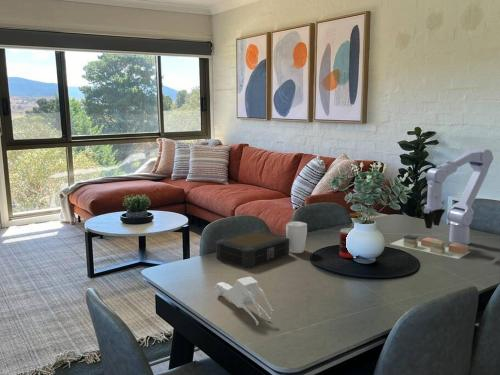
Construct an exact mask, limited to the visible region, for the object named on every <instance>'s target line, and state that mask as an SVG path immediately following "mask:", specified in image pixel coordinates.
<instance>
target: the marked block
mask: <svg viewBox="0 0 500 375" xmlns="http://www.w3.org/2000/svg"><path fill="white" fill-rule="evenodd" d="M403 238H404V244H403V246H406V247H410V248H414V247H416V246H418V241H419V236H418V235H414V234H406V235H404V236H403ZM406 247H405V248H406ZM410 248H409V249H410Z"/></svg>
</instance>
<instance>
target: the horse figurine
mask: <svg viewBox="0 0 500 375" xmlns="http://www.w3.org/2000/svg"><path fill="white" fill-rule="evenodd" d="M214 290H215V293H216V295H217V296H216V297H222V296H223V297H224V294H225V296H226V297H227V298H229V299H230V300H231V301H232V303H233V304H234V305H235V306H236V307H237V308H240V309H241V308H243V309H244V310H245V312H246V313H248V314H249V315H250V317H251V318H252V319H253V320H254V321H255V324H256V326H259V321H258V320H257V318H256V317H255V315H253V313H252V312H251V310H249V308H247V306H248V305H254V306H255V308H256V311H257V312H258V316H259V318H262V315H263V314H264V315H265V317H266V318H267V321H268V322H271V317H270V316H269V314H268V313H267V311H265V310H264V309H263V307H261V305H260V304H259V303H258V302H257V301H256V297H257V295H258V293H259V294H260V295H261V296H262V297H263V298H264V300H265V303H266V305H267V306H268V307H269V311H270V314H271V315H272V314H273V312H274V309H273V307H272V306H271V303H270V301H268V299H267V296H266V294H265V292H264V290H263V289H262V288H260V286H259V282H258V280H256V279H255V278H253V277H252V276H247V277H246V276H245V277H242V278H241V277H240V278H238V279H236V281H235V282H234V284H233V285H230V284H228V283H227V282H223V281H221V282H217V283H216V284H215V286H214Z"/></svg>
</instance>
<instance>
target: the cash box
mask: <svg viewBox="0 0 500 375" xmlns="http://www.w3.org/2000/svg"><path fill="white" fill-rule="evenodd" d="M215 244H216V245H215V248H216V249H215V252H216V253H215V255H216V256H215V257H216V259H217V260H220V261H223V262H226V263H230V264H233V265H235V266H239V267H242V268H245V269H253V268H255V267H258V266H262V265H264V264H268V263H271V262H273V261H276V260H278V259H279V260H280V259H282V258H285V257H287V256H289V255H290V252H289V239H288V238H287V236H281V235H278V234H275V233H274V234H273V233H270V232H267V231H262V230H258V229H256V230H252V231H249V232H245V233H240V234H237V235H232V236H230V237H229V236H228V237H225V238H222V239H219V240H217V241H216V242H215Z"/></svg>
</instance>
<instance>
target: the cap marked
mask: <svg viewBox="0 0 500 375" xmlns="http://www.w3.org/2000/svg"><path fill="white" fill-rule="evenodd" d="M433 240H440V239H438V238H434V237H433V238H432V237H425V238H422V239H421V240H420V242H421V246H425V247H429V248H430V245H431V241H433Z"/></svg>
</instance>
